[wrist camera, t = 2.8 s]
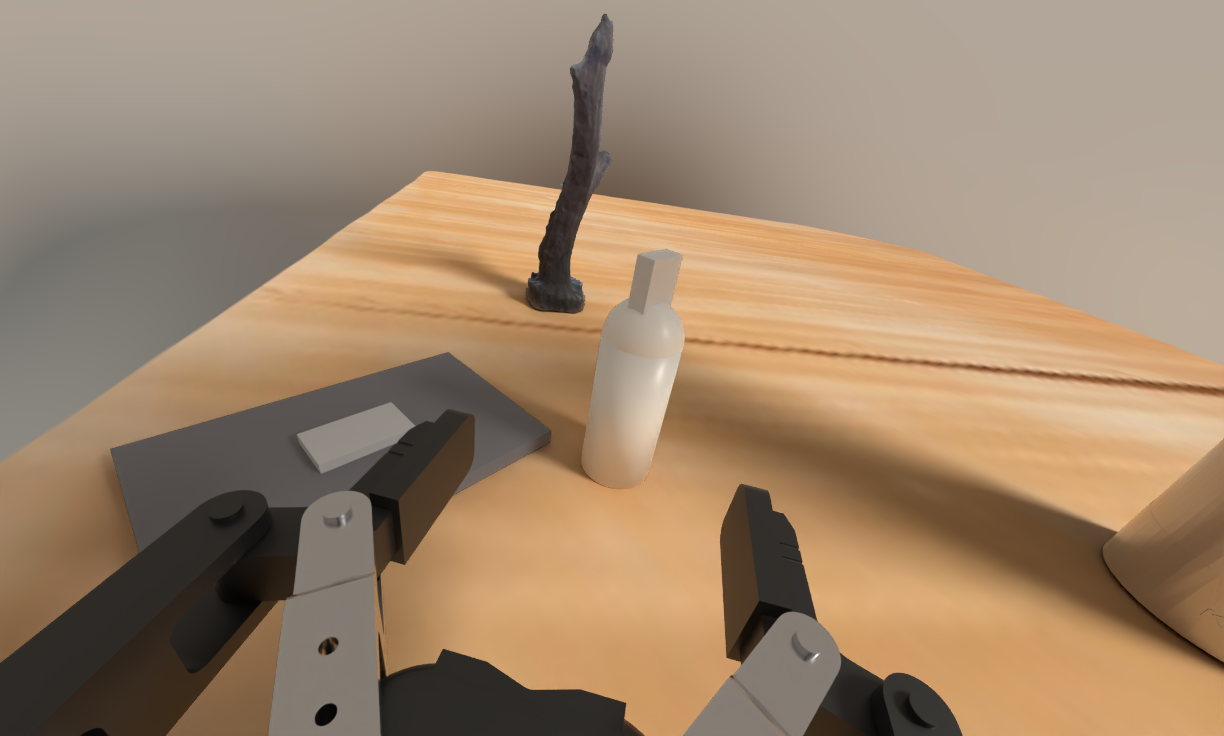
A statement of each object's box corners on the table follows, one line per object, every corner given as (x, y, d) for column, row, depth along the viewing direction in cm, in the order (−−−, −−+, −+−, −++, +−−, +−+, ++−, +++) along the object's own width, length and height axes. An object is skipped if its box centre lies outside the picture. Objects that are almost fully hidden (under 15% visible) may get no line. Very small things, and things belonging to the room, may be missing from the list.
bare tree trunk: (525, 284, 51) (541, 22, 39) (589, 290, 53) (625, 41, 41) (526, 327, 42) (548, -3, 29) (605, 332, 44) (658, 24, 31)
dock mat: (448, 363, 34) (448, 345, 33) (549, 442, 28) (551, 423, 27) (118, 464, 22) (104, 439, 21) (171, 648, 15) (155, 623, 15)
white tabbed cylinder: (612, 431, 30) (651, 238, 23) (662, 466, 28) (722, 263, 21) (566, 459, 27) (596, 245, 20) (619, 500, 25) (673, 275, 18)
